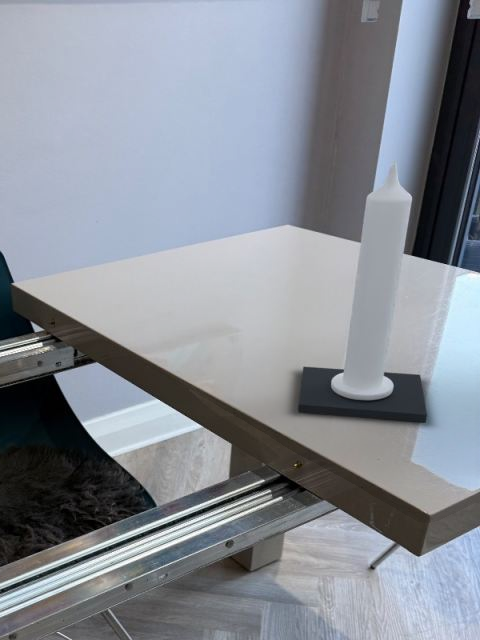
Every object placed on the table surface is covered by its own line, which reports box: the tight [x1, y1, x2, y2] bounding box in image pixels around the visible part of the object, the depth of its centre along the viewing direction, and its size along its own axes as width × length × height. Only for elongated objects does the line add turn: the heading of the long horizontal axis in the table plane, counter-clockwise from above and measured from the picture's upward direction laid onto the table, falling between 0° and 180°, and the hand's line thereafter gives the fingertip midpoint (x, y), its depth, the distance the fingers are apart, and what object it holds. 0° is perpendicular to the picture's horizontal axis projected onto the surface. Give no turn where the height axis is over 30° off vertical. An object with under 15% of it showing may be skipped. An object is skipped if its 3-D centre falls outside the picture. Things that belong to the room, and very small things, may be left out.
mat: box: [297, 366, 428, 423], centre depth 94 cm, size 14×11×1 cm
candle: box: [331, 161, 413, 400], centre depth 87 cm, size 7×7×25 cm
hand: (421, 20), depth 73 cm, fingers open, 8 cm apart
